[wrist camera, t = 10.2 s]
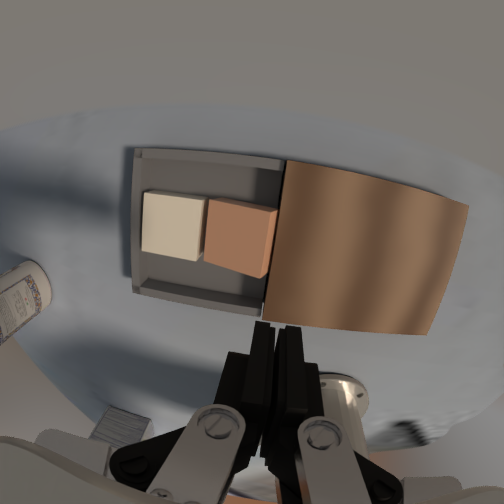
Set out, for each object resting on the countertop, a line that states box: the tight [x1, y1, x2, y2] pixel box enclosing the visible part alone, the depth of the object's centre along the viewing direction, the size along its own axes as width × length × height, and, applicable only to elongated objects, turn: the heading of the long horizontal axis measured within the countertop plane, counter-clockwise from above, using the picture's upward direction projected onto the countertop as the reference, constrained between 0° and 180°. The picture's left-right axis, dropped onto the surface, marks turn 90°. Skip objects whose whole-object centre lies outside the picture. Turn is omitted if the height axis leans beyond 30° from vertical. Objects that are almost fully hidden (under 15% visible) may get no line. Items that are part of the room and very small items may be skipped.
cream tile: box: [142, 190, 209, 261], centre depth 22 cm, size 5×5×2 cm
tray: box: [131, 148, 284, 317], centre depth 23 cm, size 12×13×2 cm
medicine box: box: [88, 406, 154, 448], centre depth 31 cm, size 8×4×9 cm, turn 84°
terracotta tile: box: [204, 198, 280, 279], centre depth 21 cm, size 5×5×2 cm
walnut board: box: [262, 160, 469, 335], centre depth 22 cm, size 16×13×3 cm
